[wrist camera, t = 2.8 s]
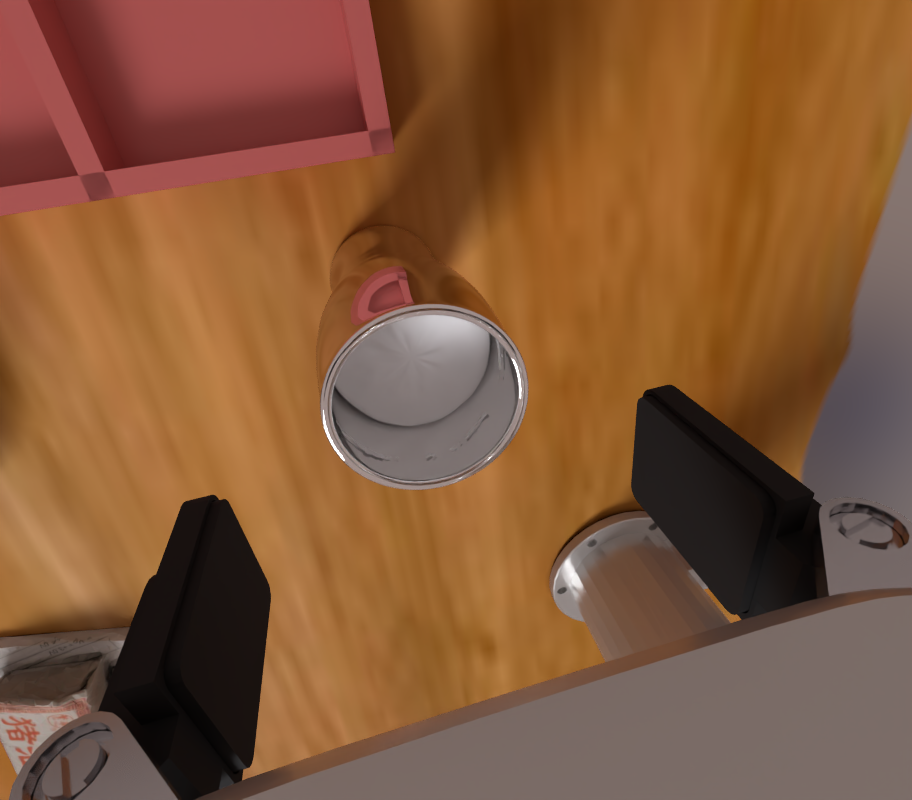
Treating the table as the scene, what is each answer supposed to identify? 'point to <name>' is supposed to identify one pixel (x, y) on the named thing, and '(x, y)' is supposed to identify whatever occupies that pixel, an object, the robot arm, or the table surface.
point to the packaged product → (52, 684)
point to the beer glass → (413, 366)
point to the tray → (180, 94)
